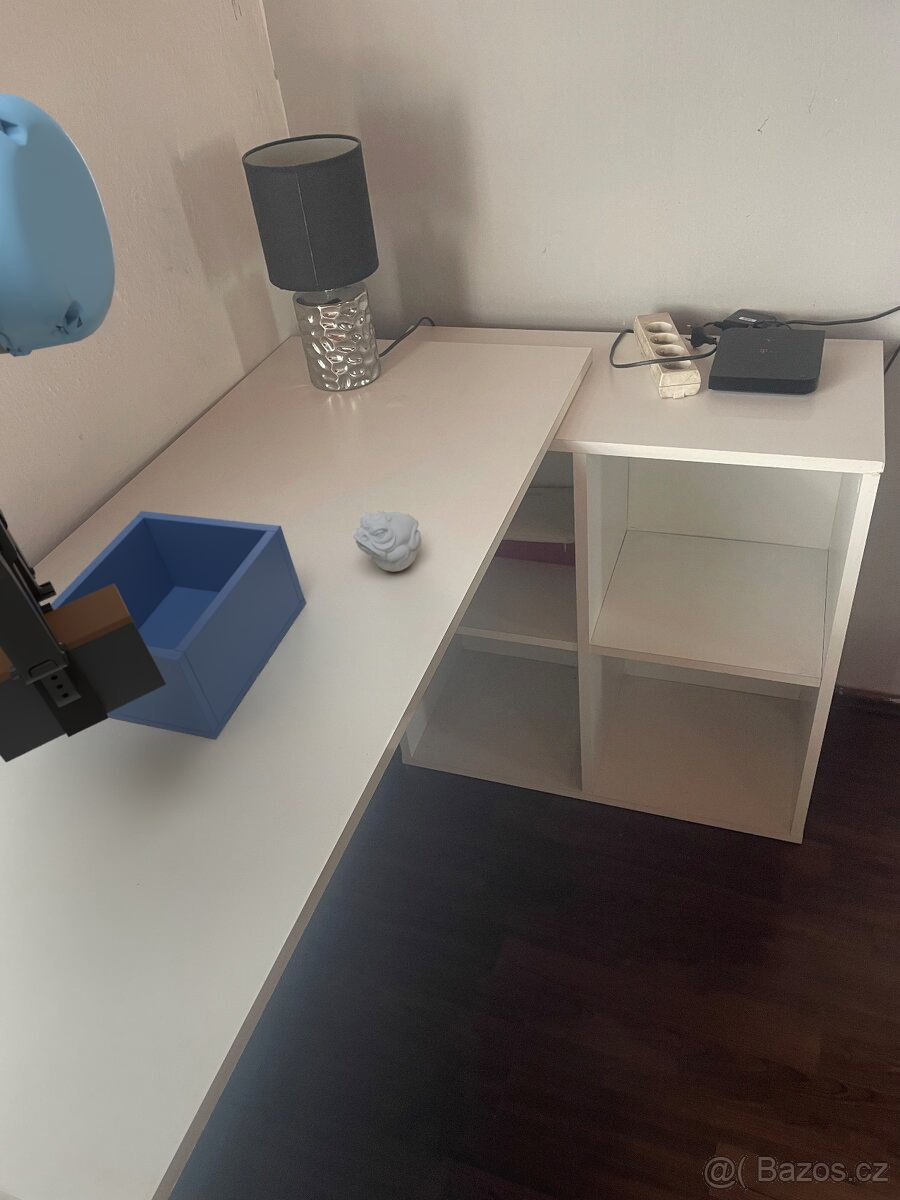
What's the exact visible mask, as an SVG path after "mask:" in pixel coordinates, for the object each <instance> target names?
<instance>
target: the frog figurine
mask: <svg viewBox="0 0 900 1200" xmlns="http://www.w3.org/2000/svg"><path fill="white" fill-rule="evenodd" d="M359 524H360V526H359V527H357V528H356V530H355V533H353V535H352V537H353V539H354V540H355V544H356V545H357V548H358V549H359V550H360V551H362V552H363V553H365V554H366V555H367V556H369V557H370V558H371V560H372V562H373V563H374V564H375V565H376V566H377V567H379V568H381V569H382V570H384V571H387V572H400V571H403V570H405V569H407V568H409V566H411V565H412V563H414V561H415V559H416V557H417V555H418V551H419V549H420V547H421V545H422V535H421V531H420V530H419V529H418V528H419V521H418V519H417V518H415V517H414V516H412V515H409V514H407V513H402V512H397V511H384V510H377V511H376V512H373V513H371V512H365V513H363V514H362V515H361V517H360V519H359Z"/></svg>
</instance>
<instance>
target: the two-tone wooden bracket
mask: <svg viewBox="0 0 900 1200" xmlns="http://www.w3.org/2000/svg"><path fill="white" fill-rule="evenodd" d="M44 616H45V617H46V619H47V621H48V623H49V624H50V626H51V628H52V630H53V631H54V633H55V635H56V637H57V638H58V640H59V642H61V643H65V644H66V646H67V648H68V649H69V651H70V653H71V654H72V656H73V658H74V659H75V661H76V663H77V664H78V666H79V668H80V669H81V671H82V673H83V674H84V676H85V678H86V679H87V681H88V683H89V684H90V686H91V688H92V689H93V691H94V692H95V694H96V696H97V697H98V699H99V701H100V702H101V704H102V706H103V707H104V709H105V711H106V713H109V712H111V711H113V710H115V709H117V708H119V707H121V706H123V705H125V704H128V703H130V702H132V701H134V700H136V699H138V698H140V697H142V696H144V695H146V694H148V693H150V692H152V691H154V690H156V689H158V688H160V687H162V686H164V685H166V683H165V680H164V679H163V677H162V675H161V673H160V671H159V669H158V667H157V665H156V663H155V661H154V660H153V658H152V656H151V654H150V652H149V650H148V648H147V646H146V644H145V642H144V640H143V639H142V637H141V635H140V633H139V631H138V629H137V627H136V625H135V623H134V621H133V620H132V618H131V616H130V614H129V612H128V609H127V607H126V605H125V603H124V601H123V599H122V597H121V595H120V593H119V591H118V589H117V587H116V585H115V584H111V585H109V586H107V587H105V588H102V589H100V590H98V591H96V592H93V593H91V594H89V595H86V596H84V597H82V598H80V599H77V600H75V601H73V602H71V603H68V604H66V605H64V606H62V607H59V608H57V609H55V610H53V611H50V612H48V613H46V614H44ZM12 665H13V664H12V663H11V661H10V660H9V658H8V657H7V656H6V654H5V653H4V651H3V650H2V648H1V647H0V757H1V758H2V760H3V761H4V762H5V763H9V762H10V761H13V760H15V759H17V758H19V757H21V756H23V755H25V754H27V753H29V752H31V751H33V750H35V749H37V748H40V747H42V746H43V745H46V744H48V743H49V742H51V741H53V740H56V739H57V738H60V737H62V736H64V735H67V734H66V733H65V731H64V730H63V728H62V727H61V725H60V724H59V722H58V721H57V719H56V718H55V716H54V715H53V713H52V712H51V710H50V709H49V707H48V706H47V704H46V703H45V701H44V700H43V698H42V697H41V695H40V694H39V692H38V691H37V689H36V688H35V686H34V685H33V683H29V684H26V683H24V681H23V680H21V679H20V678H18V679H16V680H13V679H12V678H11V676H10V672H9V667H10V666H12Z"/></svg>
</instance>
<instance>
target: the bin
mask: <svg viewBox="0 0 900 1200" xmlns="http://www.w3.org/2000/svg"><path fill="white" fill-rule="evenodd" d="M111 584H115V585H116V587H117V589H118V591H119V593H120V595H121V597H122V599H123V601H124V603H125V605H126V607H127V609H128V612H129V614H130V616H131V618H132V620H133V621H134V623H135V625H136V627H137V629H138V631H139V633H140V635H141V637H142V639H143V640H144V642H145V644H146V646H147V648H148V650H149V652H150V654H151V656H152V658H153V660H154V661H155V663H156V665H157V667H158V669H159V671H160V673H161V675H162V677H163V679H164V680H165V683H166V685H164V686H162V687H160V688H158V689H156V690H154V691H152V692H150V693H148V694H146V695H144V696H142V697H140V698H138V699H136V700H134V701H132V702H130V703H128V704H125V705H123V706H121V707H119V708H117V709H115V710H113V711H111V712H109V713H107V715H108V719H109V718H110V719H116V720H119V721H124V722H129V723H134V724H138V725H143V726H149V727H154V728H159V729H164V730H167V731H174V732H178V733H183V734H187V735H193V736H197V737H202V738H207V739H212V740H217V738H218V737H219V735H220V733H221V732H222V730H224V728H225V726H226V725H227V723H228V722H229V720H230V718H231V717H232V716H233V714H234V713H235V711H236V710H237V708H238V707H239V705H240V703H241V702H242V700H243V699H244V697H245V696H246V695H247V694H248V691H249V690H250V689H251V687H252V686H253V684H254V682H255V681H256V679H257V678H258V677H259V675H260V673H261V672H262V670H263V669H264V668H265V666H266V664H267V663H268V662H269V660H270V659H271V657H272V656H273V654H274V652H275V651H276V649H277V648H278V647H279V645H280V644H281V642H282V640H283V639H284V637H285V636H286V634H287V633H288V632H289V630H290V628H291V627H292V625H293V624H294V622H295V620H296V619H297V618H298V616H299V615H300V614H301V612H302V610H303V608H305V606H306V605H307V601H306V599H305V595H304V592H303V589H302V586H301V583H300V581H299V578H298V574H297V571H296V568H295V565H294V562H293V559H292V556H291V553H290V549H289V547H288V543H287V539H286V538H285V534H284V532H283V528H282V525H277V524H270V523H269V524H268V523H260V522H259V523H258V522H249V521H248V522H247V521H240V520H230V519H221V518H211V517H210V518H209V517H201V516H194V515H193V516H192V515H183V514H176V513H175V514H173V513H164V512H154V511H147V510H146V511H145V510H141V511H139V512H138V514H137V515H135V516H134V518H133V519H132V520H131V521H130V522H129V523H128V524H127V525H126V526H125V527H124V528H123V529H122V530H121V531H119V533H118V535H116V536H115V537H114V538H113V539H112V541H111V542H110V543H108V544H107V546H105V548H104V549H103V550H102V551H101V552H100V553H99V554H98V555H97V556H96V557H95V558H94V559H93V560H92V561H91V562H90V563H89V564H88V565H87V566H86V567H85V568H84V569H83V570H82V571H81V572H80V573H79V575H78V576H76V578H75V579H73V581H72V582H71V583H69V585H68V586H67V587H66V588H65V589H64V590H63V591H62V592H61V593H60V594H59V595H57V597H56V598H55V599H54V601H52V602H51V603H50V604H51V606H52V607H53V609H54V610H55V609H57V608H59V607H62V606H64V605H66V604H68V603H71V602H73V601H75V600H77V599H80V598H82V597H84V596H86V595H89V594H91V593H93V592H96V591H98V590H100V589H102V588H105V587H107V586H109V585H111Z"/></svg>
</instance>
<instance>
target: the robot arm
mask: <svg viewBox="0 0 900 1200" xmlns="http://www.w3.org/2000/svg"><path fill="white" fill-rule="evenodd" d="M89 168H90V167H88V164H87V162H86V160H85V159H84V157H83V155H82V153H81V151H80V150H79V149H78V147H77V145H76V144H75V143H74V141H73V140H72V138H71V137H70V135H69V134H68V133H67V132H66V131H65V130H64V128H63V127H62V126H61V125H60V124H59V122H57V121H56V120H55V119H54V117H52V116H51V115H50V114H49V113H47V112H46V111H45V110H43V109H42V108H41V107H39V106H38V105H36V104H35V103H34V102H32V101H30V100H28V99H26V98H23V97H21V96H19V95H14V94H9V93H0V355H4V354H5V355H6V354H10V355H11V356H12V357H13V358H15V357H25V356H26V357H27V356H29V355H30V354H31V353H32V352H33V351H36V350H42V349H47V348H52V347H56V346H57V347H58V346H62V345H68V344H73V343H76V342H81V341H83V340H85V339H87V338H88V337H90V336H92V335H93V334H95V333H96V332H97V330H98V329H100V327H101V326H102V325H103V323H104V321H105V319H106V316H107V315H108V314H109V313H108V312H109V310H110V308H111V305H112V303H113V297H114V292H115V283H116V264H115V263H116V262H115V253H114V251H115V250H114V245H113V239H112V234H111V230H110V226H109V223H108V219H107V215H106V211H105V208H104V204H103V202H102V199H101V196H100V193H99V189H98V188H97V187H98V186H97V184H96V182H95V179H94V176H93V175H92V172H91V170H90V169H89ZM55 596H58V595H57V591H56V589H55V588H54V586H53V584H52V582H51V580H49V581H46V582H43V583H42V584H38V582H37V577H36V571H35V568H34V567H33V566H31V565H30V564H29V562H28V561H27V559H26V557H25V555H24V553H23V552H22V550H21V548H20V546H19V545H18V543H17V542H16V540H15V538H14V536H13V534H12V533H11V532H10V530H9V525H8V522H7V520H6V517H5V514H4V513H3V510H2V509H1V508H0V647H1V648H2V650H3V651H4V653H5V654H6V656H7V657H8V658H9V660H10V661H11V663H12V664H13V665H12V666H10V667H9V672H10V676H11V678H12V679H13V680H16V679H18V678H20V679H21V680H23V681H24V683H26V684H29V683H33V685H34V686H35V688H36V689H37V691H38V692H39V694H40V695H41V697H42V698H43V700H44V701H45V703H46V704H47V706H48V707H49V709H50V710H51V712H52V713H53V715H54V716H55V718H56V719H57V721H58V722H59V724H60V725H61V727H62V728H63V730H64V731H65V733H66V734H65V735H66V736H67V737H68V738H70V737H72V736H74V735H76V734H78V733H80V732H82V731H84V730H87V729H88V728H90V727H93V726H95V725H97V724H99V723H101V722H104V721H105V720H107V719H109V717H108V715H107V713H106V711H105V709H104V707H103V706H102V704H101V702H100V701H99V699H98V697H97V696H96V694H95V692H94V691H93V689H92V688H91V686H90V684H89V683H88V681H87V679H86V678H85V676H84V674H83V673H82V671H81V669H80V668H79V666H78V664H77V663H76V661H75V659H74V658H73V656H72V654H71V653H70V651H69V649H68V648H67V646H66V644H65V643H61V642H59V640H58V638H57V637H56V635H55V633H54V631H53V630H52V628H51V626H50V624H49V623H48V621H47V619H46V617H45V616H44V614H46V613H48V612H50V611H53V610H54V609H53V607H52V606H51V604H52V603H51V602H47V603H45V604H43V605H41V602H44V601H46V600H48V599H50V598H53V597H55Z"/></svg>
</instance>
